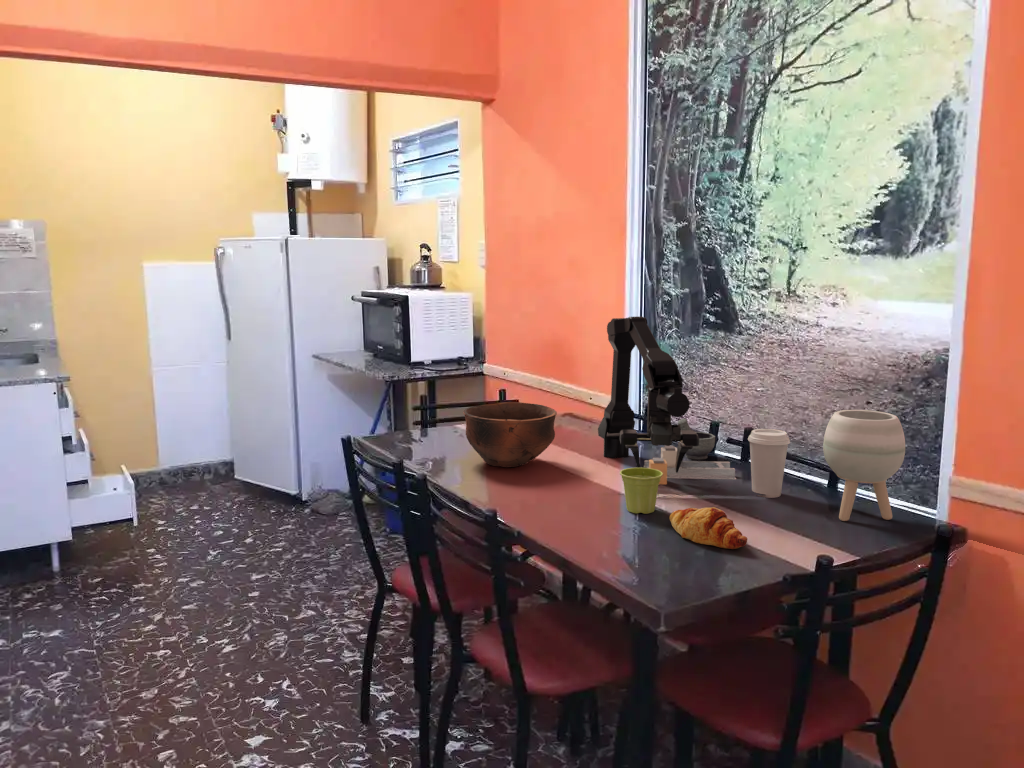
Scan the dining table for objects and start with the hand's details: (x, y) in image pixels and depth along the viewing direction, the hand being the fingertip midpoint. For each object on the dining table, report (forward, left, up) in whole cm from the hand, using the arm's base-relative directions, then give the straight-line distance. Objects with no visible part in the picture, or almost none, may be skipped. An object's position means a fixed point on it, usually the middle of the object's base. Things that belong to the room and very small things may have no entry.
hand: (657, 471), depth 200 cm
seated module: (+4, +10, -3) cm, 11 cm away
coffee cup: (+25, -6, -4) cm, 26 cm away
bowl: (-38, +19, -4) cm, 43 cm away
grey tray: (+9, +10, -3) cm, 14 cm away
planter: (+41, -22, -4) cm, 47 cm away
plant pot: (-6, -21, -4) cm, 22 cm away
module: (0, 0, -3) cm, 3 cm away
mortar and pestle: (+13, +27, -4) cm, 30 cm away
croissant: (+6, -38, -4) cm, 39 cm away
